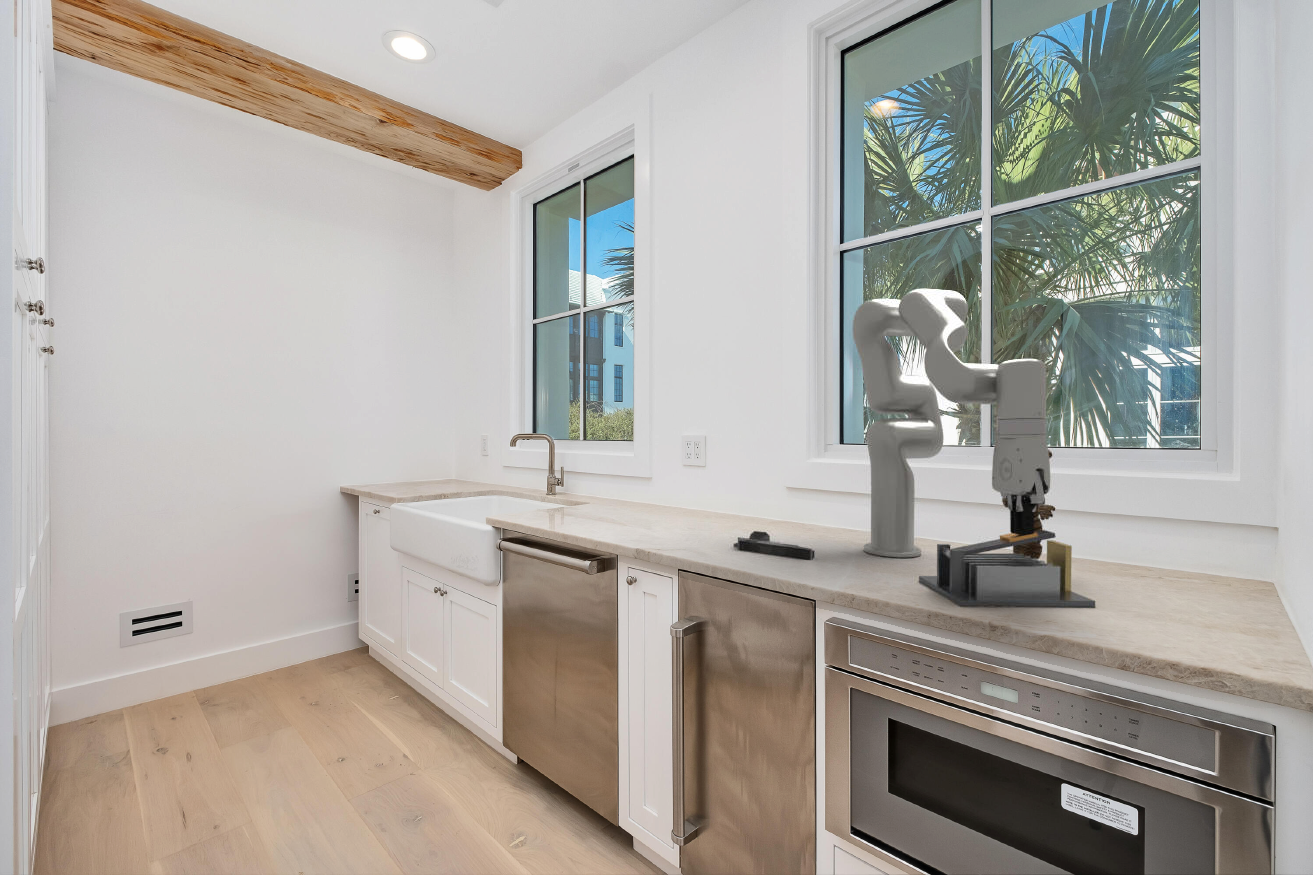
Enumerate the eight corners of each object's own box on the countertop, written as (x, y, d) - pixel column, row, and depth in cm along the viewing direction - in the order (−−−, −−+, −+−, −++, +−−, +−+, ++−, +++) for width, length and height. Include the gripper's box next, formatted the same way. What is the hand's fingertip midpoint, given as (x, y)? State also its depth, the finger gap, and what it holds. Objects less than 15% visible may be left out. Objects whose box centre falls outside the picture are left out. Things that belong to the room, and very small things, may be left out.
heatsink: (961, 606, 97) (961, 552, 97) (918, 581, 113) (919, 534, 113) (1095, 606, 97) (1096, 552, 97) (1033, 581, 113) (1034, 534, 113)
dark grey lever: (952, 560, 103) (950, 551, 103) (942, 556, 107) (940, 547, 107) (1057, 539, 103) (1055, 529, 103) (1043, 535, 107) (1042, 526, 107)
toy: (1071, 585, 111) (1073, 425, 110) (1030, 583, 112) (1032, 425, 112) (1027, 561, 130) (1028, 425, 130) (993, 559, 132) (994, 425, 131)
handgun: (752, 530, 153) (728, 538, 144) (829, 539, 141) (809, 549, 131) (752, 542, 153) (728, 551, 144) (829, 553, 141) (809, 563, 131)
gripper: (977, 430, 112) (977, 527, 112) (1026, 429, 97) (1027, 541, 97) (1016, 430, 112) (1017, 527, 112) (1071, 429, 97) (1072, 540, 97)
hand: (1022, 533), depth 104 cm, fingers closed
